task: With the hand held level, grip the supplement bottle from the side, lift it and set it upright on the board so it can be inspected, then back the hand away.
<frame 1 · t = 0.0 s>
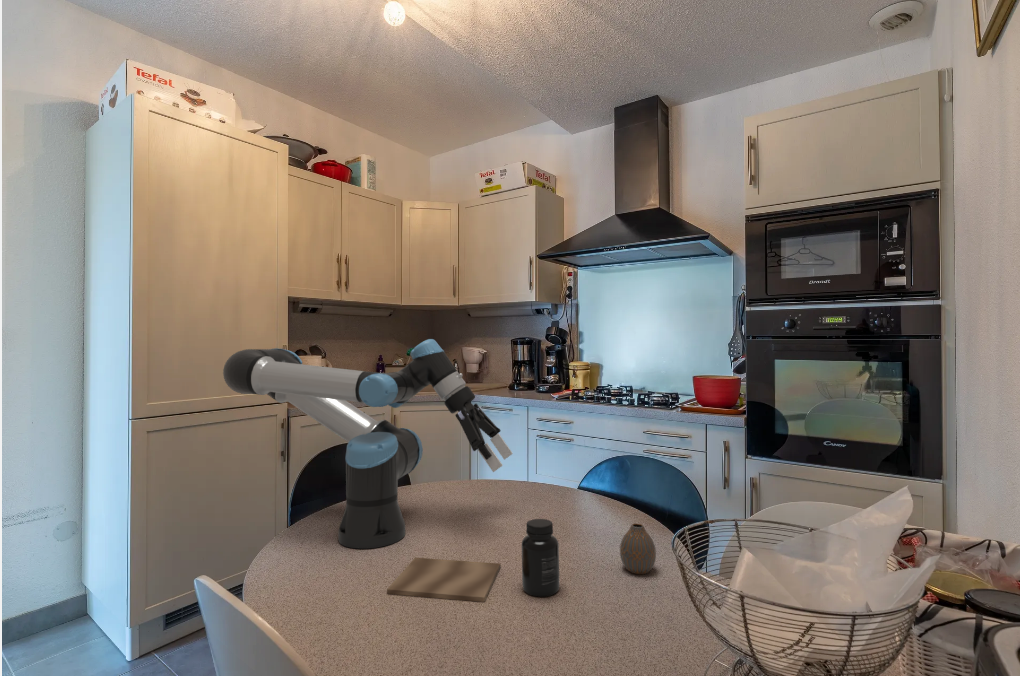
hand: (503, 462, 127), 15 cm above the table, tool tilted 35°, fingers open, 13 cm apart
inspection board: (446, 580, 96), on the table
vase: (638, 570, 100), on the table
supplement bottle: (540, 589, 93), on the table
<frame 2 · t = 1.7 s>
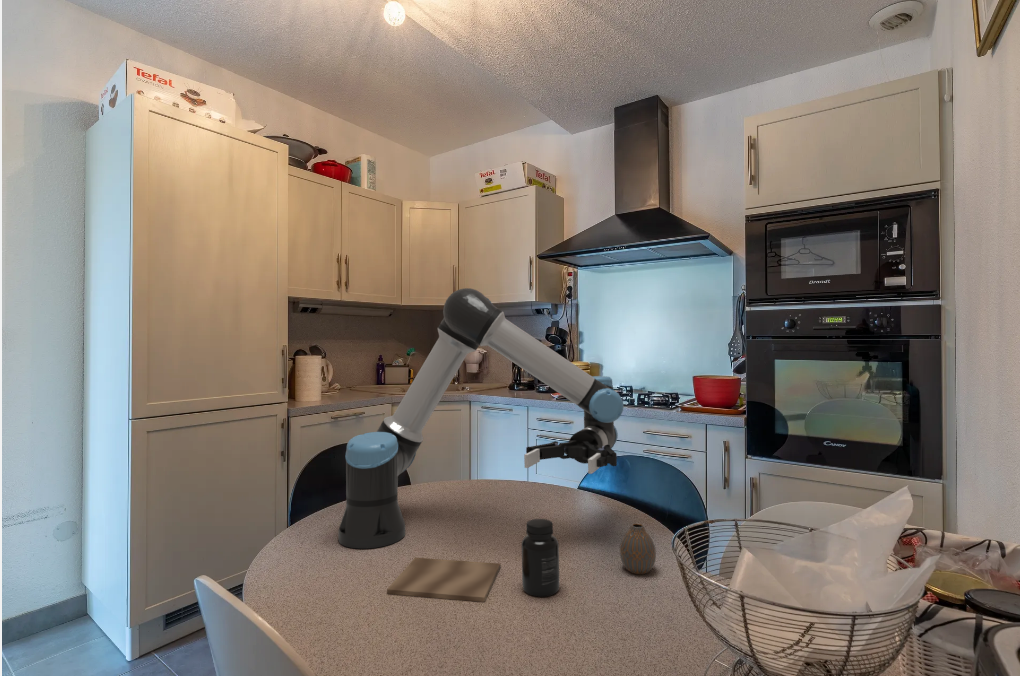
hand: (557, 464, 102), 21 cm above the table, tool horizontal, fingers open, 13 cm apart
nothing on the table moved.
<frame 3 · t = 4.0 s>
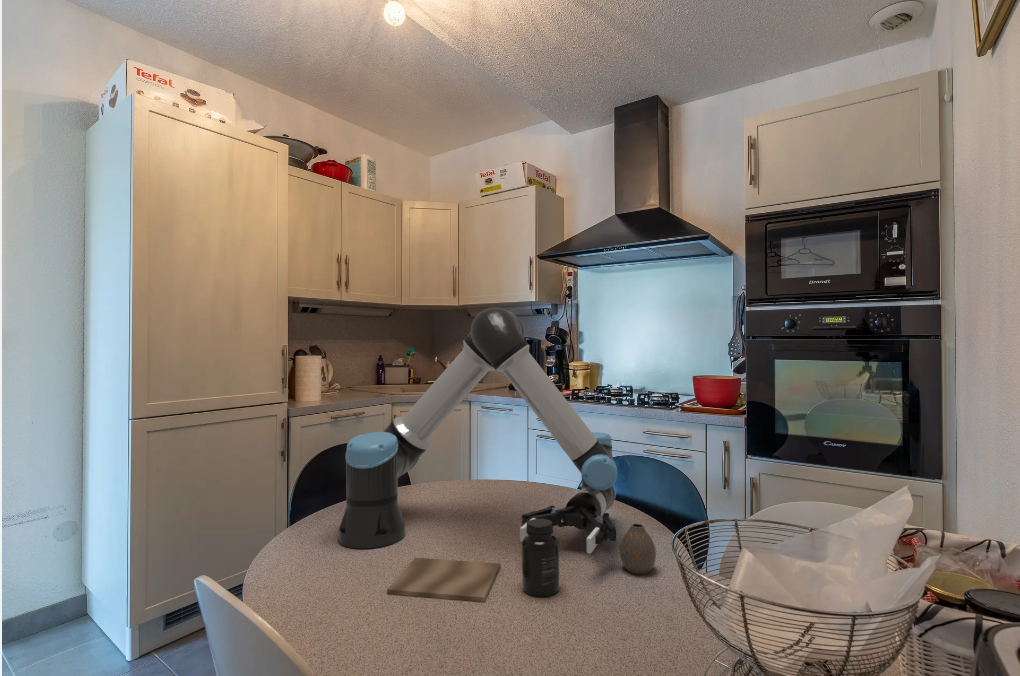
hand: (554, 540, 98), 7 cm above the table, tool horizontal, fingers open, 13 cm apart
nothing on the table moved.
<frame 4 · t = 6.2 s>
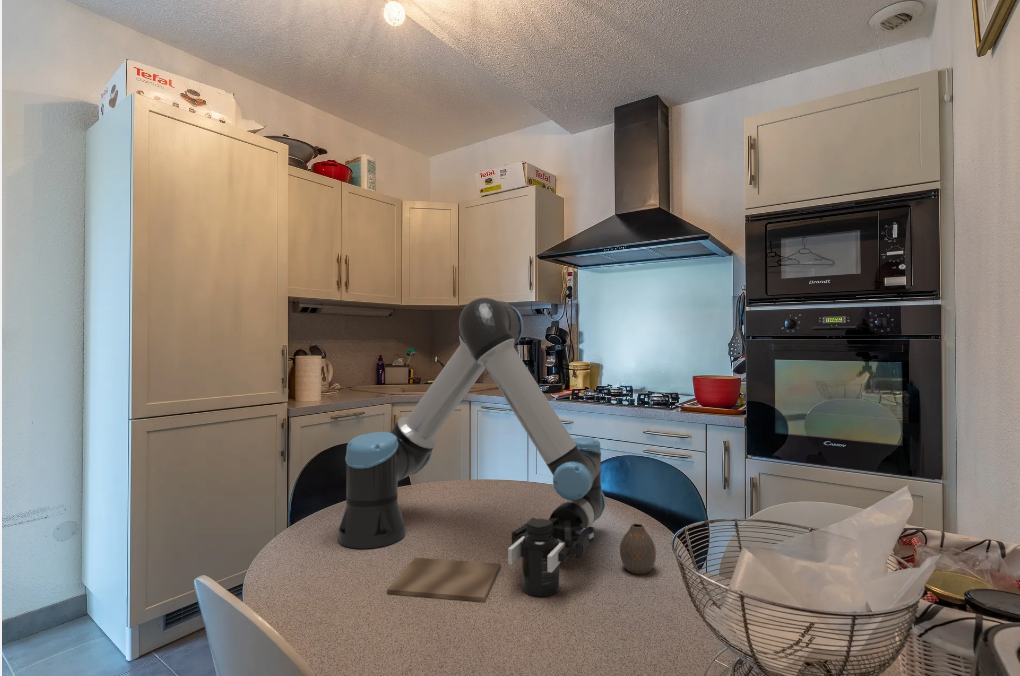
hand: (529, 560, 88), 7 cm above the table, tool horizontal, fingers closed on supplement bottle, 7 cm apart
supplement bottle: (540, 589, 93), on the table, touching gripper
everything else where it was.
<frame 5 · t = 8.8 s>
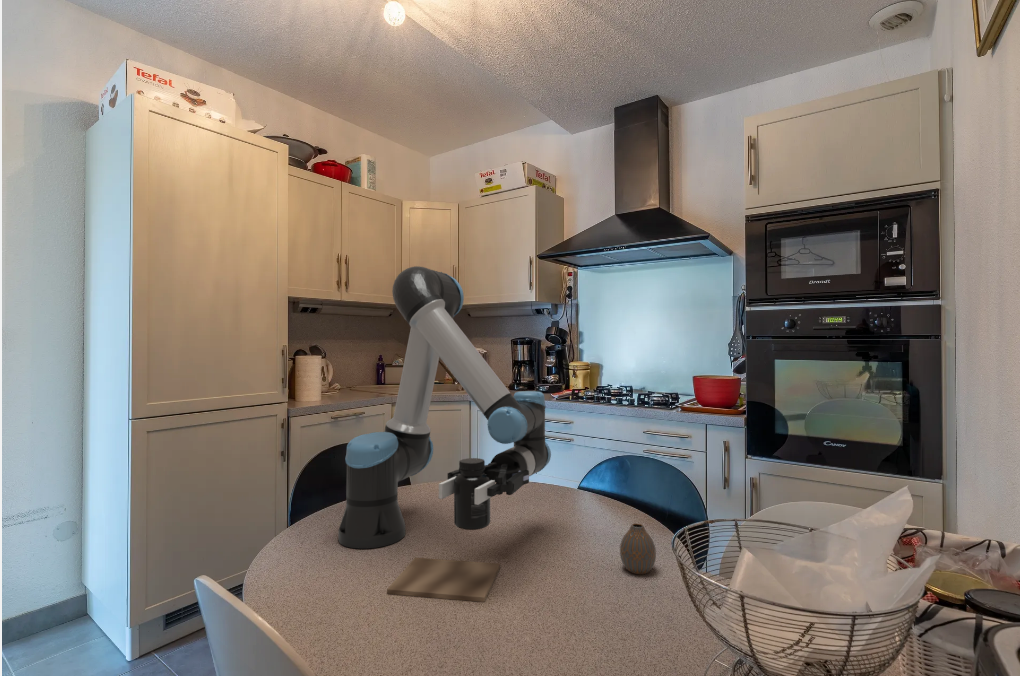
hand: (458, 494, 91), 18 cm above the table, tool horizontal, fingers closed on supplement bottle, 7 cm apart
supplement bottle: (472, 525, 95), point 11 cm above the table, touching gripper
everything else where it was.
when the fingers open (9 cm above the table, at t = 11.6 s): supplement bottle drops 1 cm, resting on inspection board.
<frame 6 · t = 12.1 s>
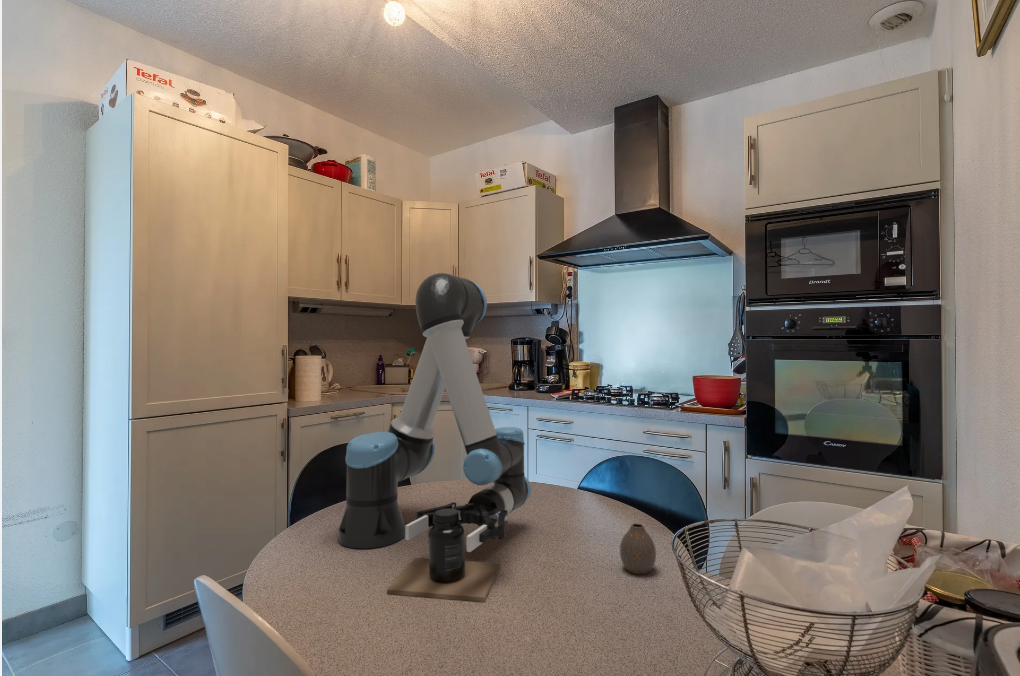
hand: (436, 538, 93), 9 cm above the table, tool horizontal, fingers open, 13 cm apart
supplement bottle: (447, 576, 96), point 1 cm above the table, touching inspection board
everything else where it was.
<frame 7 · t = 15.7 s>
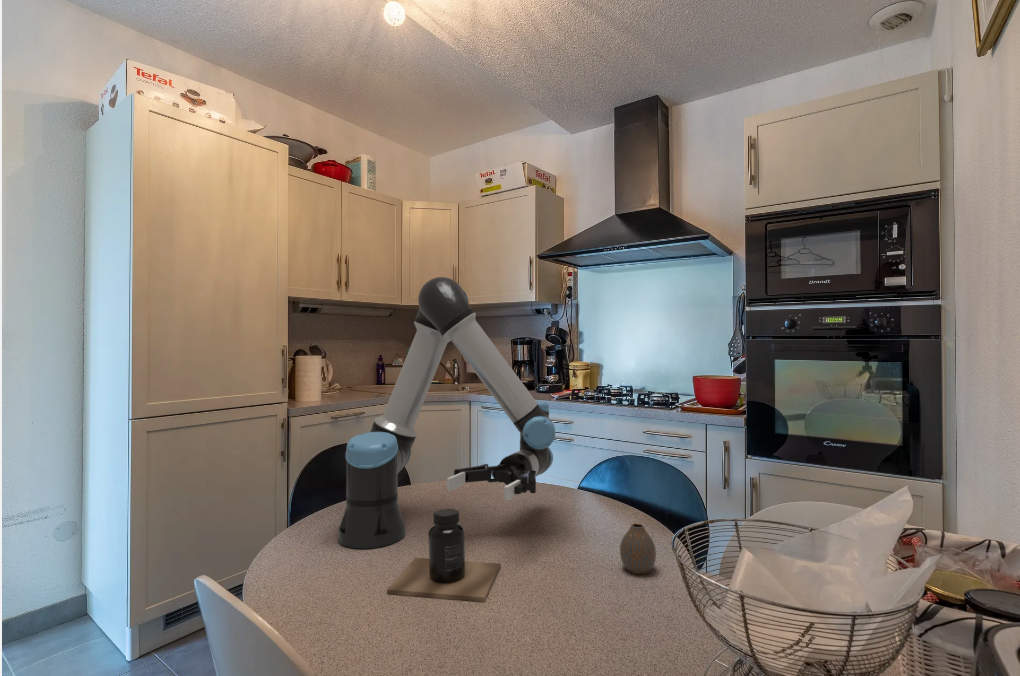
hand: (476, 489, 105), 15 cm above the table, tool horizontal, fingers open, 13 cm apart
nothing on the table moved.
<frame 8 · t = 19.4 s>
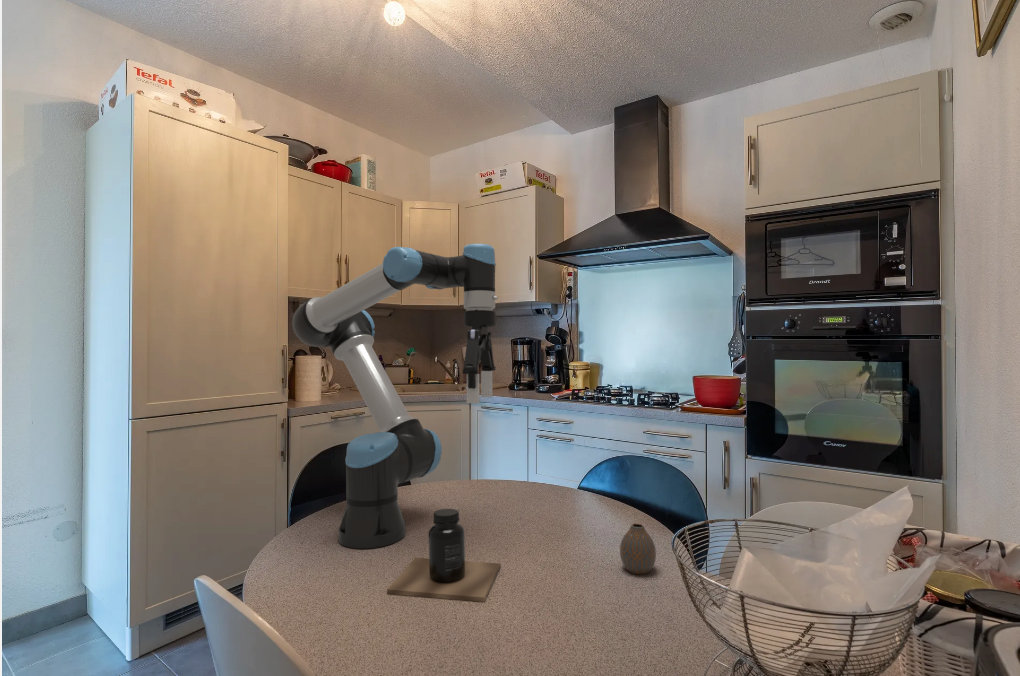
hand: (480, 400, 120), 32 cm above the table, tool pointing down, fingers open, 13 cm apart
nothing on the table moved.
at the end: supplement bottle inside the target area on the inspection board (0.1 cm from its centre), point 0.6 cm above the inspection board's base; supplement bottle tilted 0°; the gripper is holding nothing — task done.
